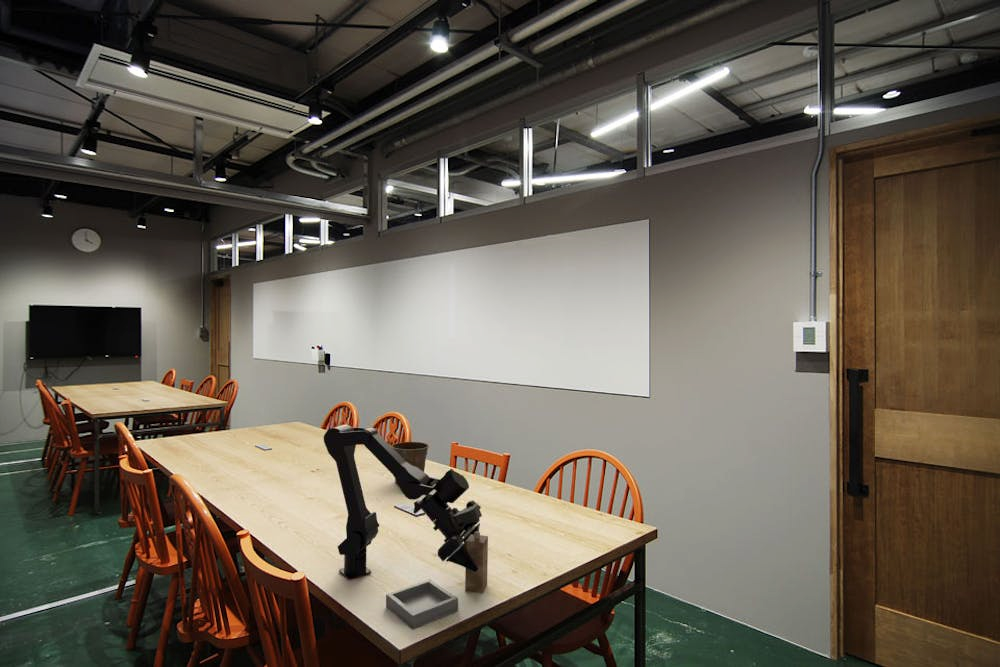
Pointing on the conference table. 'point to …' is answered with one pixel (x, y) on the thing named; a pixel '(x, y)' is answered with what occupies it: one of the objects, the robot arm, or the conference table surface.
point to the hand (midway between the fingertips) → (482, 562)
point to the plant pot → (412, 453)
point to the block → (477, 563)
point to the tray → (421, 603)
